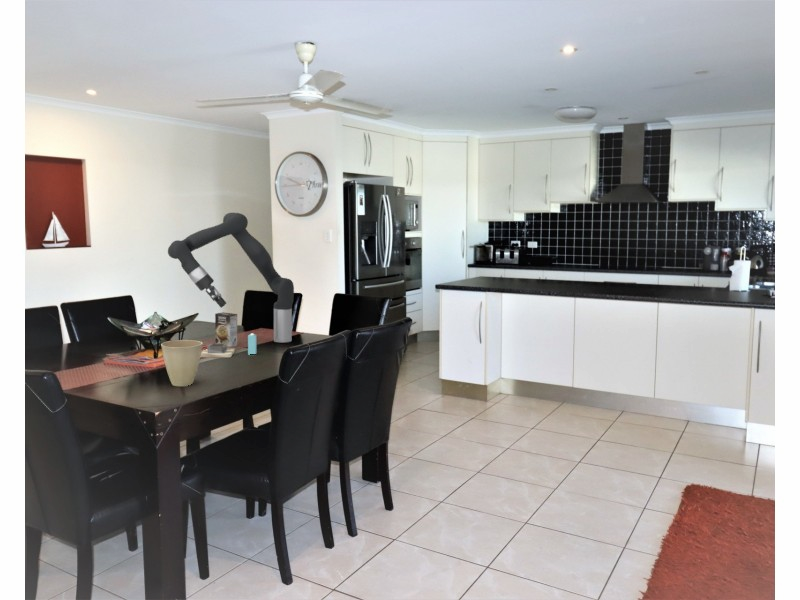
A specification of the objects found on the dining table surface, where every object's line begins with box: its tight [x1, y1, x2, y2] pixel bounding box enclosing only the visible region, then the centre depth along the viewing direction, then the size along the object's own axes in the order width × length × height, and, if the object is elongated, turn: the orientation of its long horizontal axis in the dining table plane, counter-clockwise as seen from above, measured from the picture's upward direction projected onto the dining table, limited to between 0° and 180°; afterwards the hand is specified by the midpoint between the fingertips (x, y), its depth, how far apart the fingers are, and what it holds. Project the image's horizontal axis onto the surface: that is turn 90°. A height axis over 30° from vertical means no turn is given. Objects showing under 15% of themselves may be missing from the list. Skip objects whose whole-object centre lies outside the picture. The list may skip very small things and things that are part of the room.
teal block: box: [247, 332, 258, 356], centre depth 292 cm, size 4×4×10 cm
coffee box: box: [214, 311, 238, 348], centre depth 310 cm, size 9×6×16 cm
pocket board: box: [200, 343, 236, 358], centre depth 291 cm, size 14×14×4 cm
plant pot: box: [160, 339, 203, 387], centre depth 237 cm, size 15×15×16 cm
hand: (224, 305), depth 287 cm, fingers open, 8 cm apart
